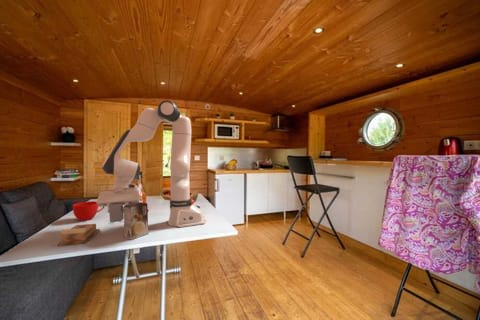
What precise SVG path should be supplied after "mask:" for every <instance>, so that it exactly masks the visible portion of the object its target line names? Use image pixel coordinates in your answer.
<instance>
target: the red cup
mask: <svg viewBox="0 0 480 320" xmlns="http://www.w3.org/2000/svg"><path fill="white" fill-rule="evenodd" d="M96 202H97V201H96V200H95V201H81V202H77V203H74V204H73V205H72V211H73V215H74V217H75V218H76V219H77V220H79V222H87V221H90V220H93V219H94V218H95V216H96V215H97V213H99V212H101V211H103V209H105V207H106V206H102V208H100V209H98V208H99V206H98V205H97V203H96Z"/></svg>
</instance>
